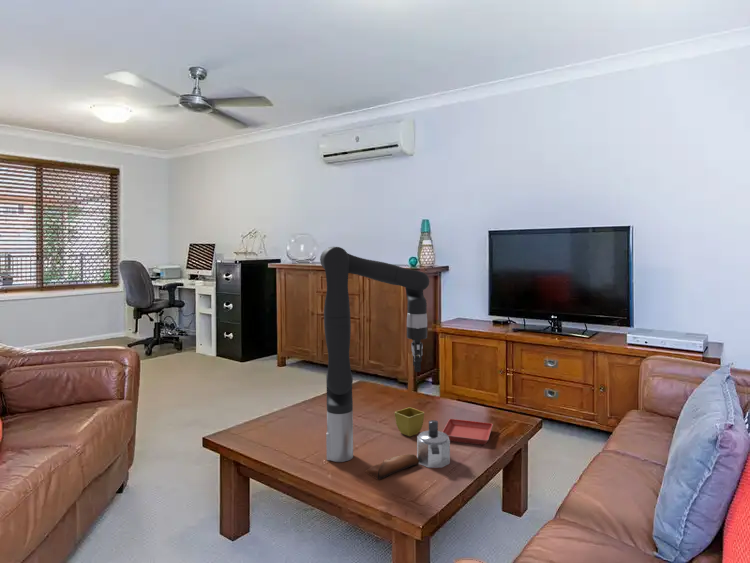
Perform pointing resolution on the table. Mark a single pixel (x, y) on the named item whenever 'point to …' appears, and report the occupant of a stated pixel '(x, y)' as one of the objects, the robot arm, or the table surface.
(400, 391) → the table surface
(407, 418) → the flower pot
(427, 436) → the lid
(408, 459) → the sunglasses case
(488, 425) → the plant saucer
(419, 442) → the pot
